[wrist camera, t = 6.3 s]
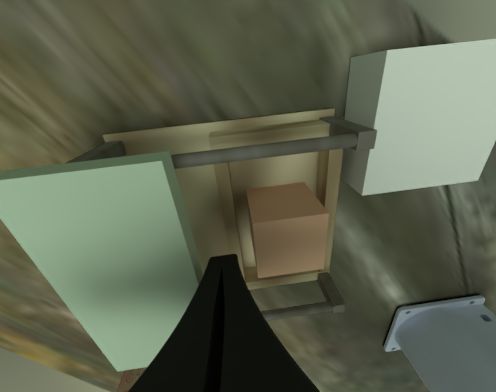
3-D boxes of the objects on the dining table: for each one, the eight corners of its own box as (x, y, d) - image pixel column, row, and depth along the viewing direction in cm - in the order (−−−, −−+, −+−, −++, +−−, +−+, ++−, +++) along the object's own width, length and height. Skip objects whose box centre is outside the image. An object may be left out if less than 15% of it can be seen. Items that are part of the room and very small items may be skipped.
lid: (169, 151, 8) (161, 160, 7) (219, 335, 14) (219, 355, 13) (6, 170, 8) (-27, 183, 7) (125, 349, 14) (117, 371, 13)
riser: (473, 44, 12) (543, 33, 9) (434, 163, 15) (477, 180, 13) (350, 57, 12) (387, 49, 9) (338, 175, 15) (361, 195, 12)
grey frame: (332, 108, 13) (381, 119, 9) (319, 265, 19) (344, 315, 15) (104, 134, 12) (46, 159, 8) (166, 287, 19) (149, 345, 14)
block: (304, 182, 15) (329, 213, 11) (302, 229, 17) (323, 268, 13) (245, 189, 15) (252, 223, 11) (251, 236, 16) (258, 278, 13)
